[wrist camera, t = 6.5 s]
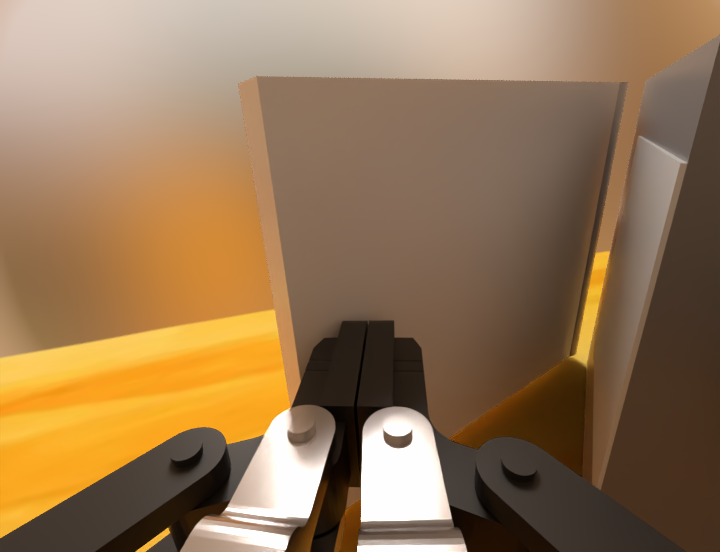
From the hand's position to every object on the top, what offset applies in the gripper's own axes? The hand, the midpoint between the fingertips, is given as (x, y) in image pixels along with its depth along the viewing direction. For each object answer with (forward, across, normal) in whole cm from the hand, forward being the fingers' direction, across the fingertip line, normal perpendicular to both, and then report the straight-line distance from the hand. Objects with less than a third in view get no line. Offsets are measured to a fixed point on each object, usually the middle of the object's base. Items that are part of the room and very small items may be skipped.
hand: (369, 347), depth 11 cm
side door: (+5, -4, +6) cm, 9 cm away
